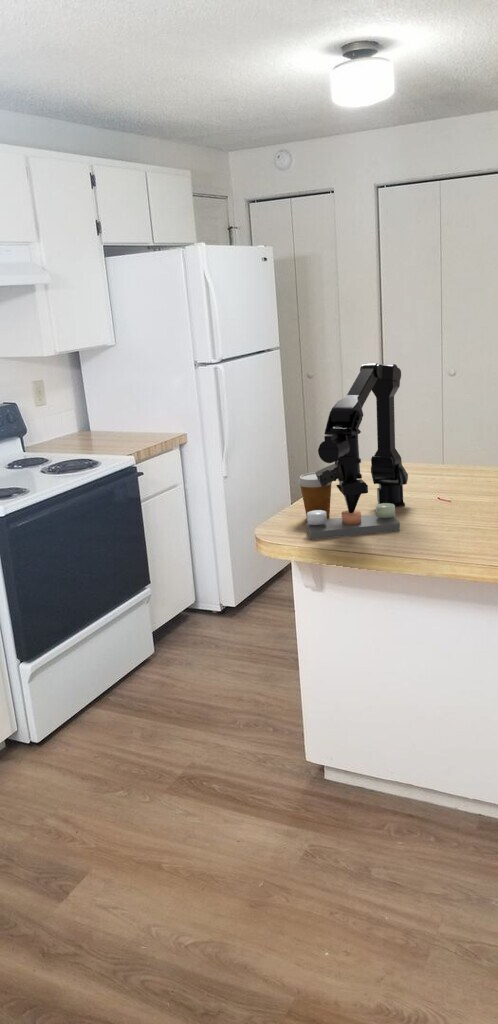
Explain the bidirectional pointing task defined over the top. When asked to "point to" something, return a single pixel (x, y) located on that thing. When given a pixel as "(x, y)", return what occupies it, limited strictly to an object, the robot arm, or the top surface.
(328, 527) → the panel
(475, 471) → the top surface
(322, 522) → the button bluegrey
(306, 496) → the disposable coffee cup
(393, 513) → the button sage
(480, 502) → the top surface
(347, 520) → the button terracotta
